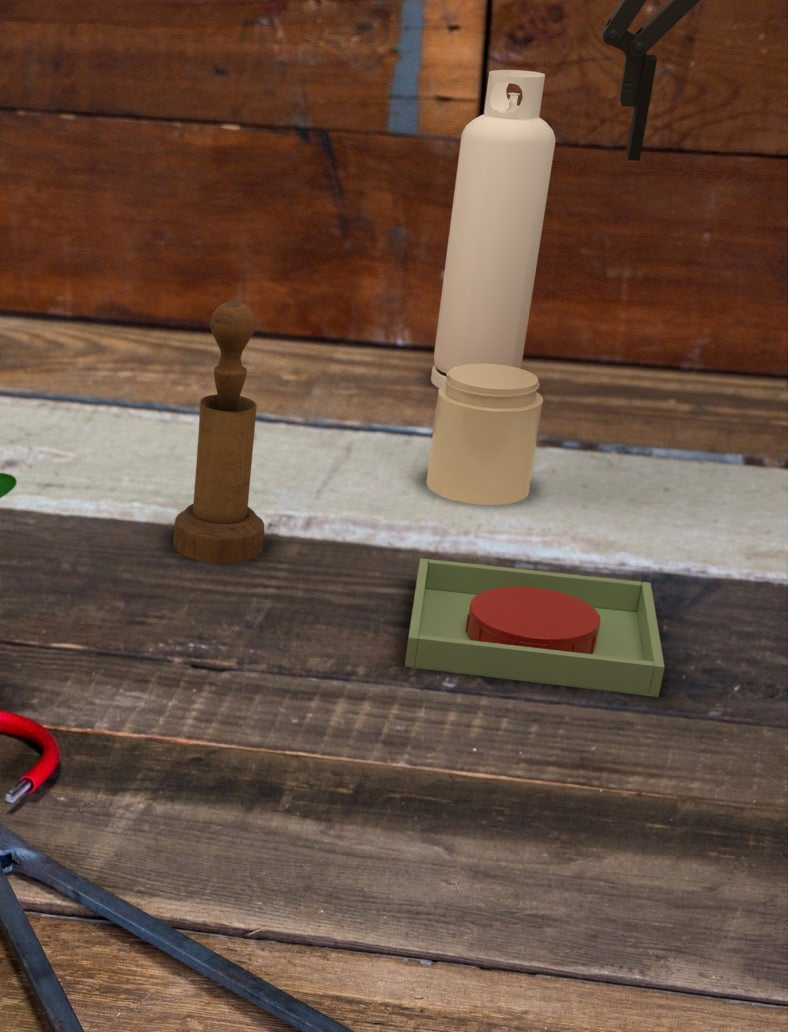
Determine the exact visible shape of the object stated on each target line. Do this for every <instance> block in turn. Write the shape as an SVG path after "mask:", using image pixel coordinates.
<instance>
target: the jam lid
mask: <svg viewBox="0 0 788 1032" xmlns="http://www.w3.org/2000/svg"><path fill="white" fill-rule="evenodd" d="M600 621H601V619H600V616H599V614H598V612H597V611H596V610H595V609H594V608H593V607H592V606H590V605H589V604H587V603H586V602H584V601H582V600H580V599H578V598H576V597H573V596H570V595H568V594H564V593H561V592H557V591H553V590H548V589H543V588H535V587H520V586H515V587H501V588H494V589H490V590H487V591H484V592H481V593H479V594H478V595H476V596H475V597H474V598H473V599H472V600H471V602H470V607H469V614H468V616H467V623H466V630H465V631H467V635H468V637H469V638H470V640H471V641H480V642H488V643H497V644H506V645H515V646H523V647H532V648H541V649H549V650H558V651H567V652H575V653H584V654H592V653H593V652H594V650H595V648H596V644H597V638H598V633H599V628H600Z"/></svg>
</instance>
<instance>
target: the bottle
mask: <svg viewBox="0 0 788 1032" xmlns="http://www.w3.org/2000/svg"><path fill="white" fill-rule="evenodd" d="M545 79H546V75H545V73H542V72H538V71H530V70H521V69H494V70H490V71H489V72H488V79H487V86H486V93H485V100H484V109H483V114H481V115H479V116H477V117H475V118H474V119H472V120H471V121H470V122H468V123H467V124H466V125H465V126H464V129H463V131H462V132H461V136H460V137H461V138H460V145H459V152H458V161H457V169H456V176H455V185H454V193H453V199H452V200H453V201H452V208H451V217H450V224H449V232H448V240H447V248H446V255H445V256H446V257H445V264H444V265H445V266H444V272H443V274H444V275H443V280H442V281H443V282H442V288H441V297H440V304H439V312H438V321H437V328H436V336H435V343H434V353H433V362H434V365H433V366H432V368H431V374H430V375H431V376H430V382H431V384H432V385H434V386H435V387H436V388H438V389H439V388H440V387H441V386H443V385H445V384H446V378H447V377H446V375H447V372H448V371H449V370H450V369H452V368H454V367H456V366H460V365H465V364H498V365H506V366H511V367H516V368H520V369H522V364H523V357H524V350H525V345H526V337H527V332H528V326H529V325H528V324H529V319H530V311H531V306H532V299H533V291H534V285H535V279H536V271H537V264H538V258H539V251H540V245H541V238H542V231H543V226H544V219H545V213H546V205H547V200H548V192H549V186H550V185H549V184H550V179H551V174H552V173H551V172H552V167H553V160H554V152H555V147H556V136H555V133H554V130H553V128H551V126H550V125H549V124H548V123H547V122H546V121H545V120H544V119H543V118H541V117H540V113H541V107H542V100H543V94H544V93H543V92H544V86H545ZM509 84H512V85H517V86H518V87H519V88H520V90H521V93H522V94H521V95H522V99H521V101H520V104H519V105H518V101H519V96H520V93H517V92H508V93H507V89H508V86H509ZM507 94H508V95H509V98H508V95H507Z"/></svg>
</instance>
